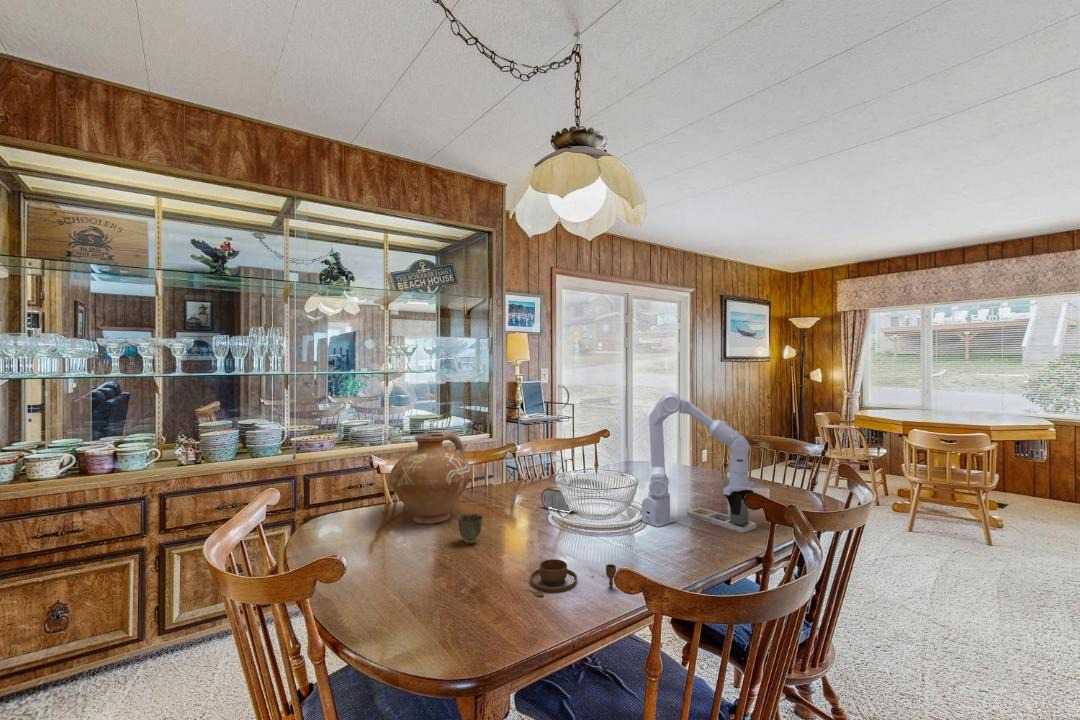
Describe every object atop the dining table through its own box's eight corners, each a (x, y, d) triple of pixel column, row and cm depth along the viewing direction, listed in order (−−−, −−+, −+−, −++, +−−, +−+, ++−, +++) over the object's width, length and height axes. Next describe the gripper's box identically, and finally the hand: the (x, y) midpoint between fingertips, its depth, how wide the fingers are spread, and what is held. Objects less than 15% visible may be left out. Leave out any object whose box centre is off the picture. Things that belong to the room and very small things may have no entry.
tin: (579, 513, 178) (579, 489, 178) (575, 515, 175) (575, 491, 175) (544, 506, 186) (544, 484, 186) (539, 508, 183) (539, 486, 183)
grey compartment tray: (743, 533, 156) (743, 528, 156) (687, 515, 173) (687, 511, 173) (756, 527, 160) (756, 523, 160) (700, 511, 178) (700, 507, 178)
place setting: (559, 565, 134) (559, 544, 134) (620, 589, 120) (620, 565, 120) (512, 587, 121) (512, 564, 121) (574, 616, 107) (574, 590, 107)
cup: (477, 548, 145) (477, 521, 145) (454, 546, 147) (454, 519, 147) (485, 539, 153) (485, 513, 153) (463, 537, 154) (463, 512, 154)
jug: (376, 518, 174) (375, 434, 174) (445, 502, 193) (444, 426, 193) (414, 539, 153) (413, 443, 153) (487, 518, 172) (486, 433, 172)
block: (741, 525, 158) (741, 500, 158) (730, 521, 161) (730, 497, 161) (748, 522, 161) (748, 498, 161) (737, 519, 164) (736, 495, 164)
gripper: (737, 477, 153) (737, 520, 154) (762, 470, 162) (762, 511, 162) (717, 473, 159) (717, 514, 159) (742, 467, 168) (742, 506, 168)
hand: (739, 513), depth 161 cm, fingers closed on block, 4 cm apart
